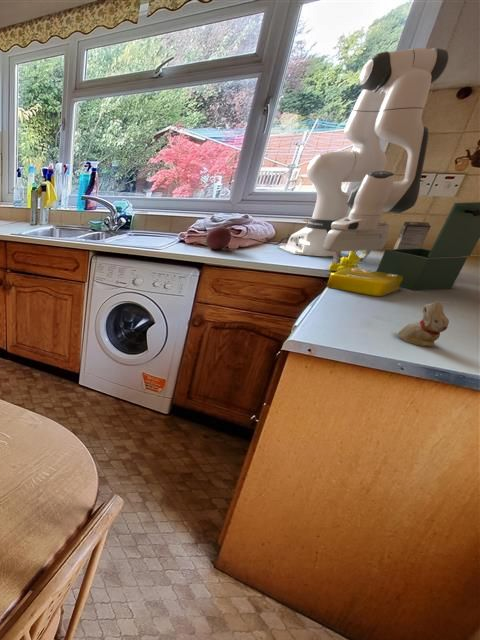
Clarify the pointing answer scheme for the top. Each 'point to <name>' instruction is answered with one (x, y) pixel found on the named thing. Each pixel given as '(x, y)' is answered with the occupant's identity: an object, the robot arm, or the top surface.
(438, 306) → the chocolate bunny
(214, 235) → the decorative ball
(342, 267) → the yellow lumpy shape
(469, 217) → the lid
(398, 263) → the green hinged box
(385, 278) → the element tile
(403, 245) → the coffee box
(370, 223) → the robot arm
